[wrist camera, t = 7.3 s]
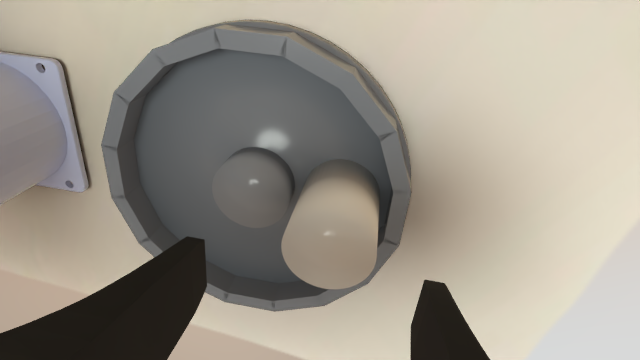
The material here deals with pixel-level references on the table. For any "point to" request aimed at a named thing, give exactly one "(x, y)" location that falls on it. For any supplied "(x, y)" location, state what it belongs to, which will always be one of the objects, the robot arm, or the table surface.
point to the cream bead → (334, 226)
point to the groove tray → (240, 113)
